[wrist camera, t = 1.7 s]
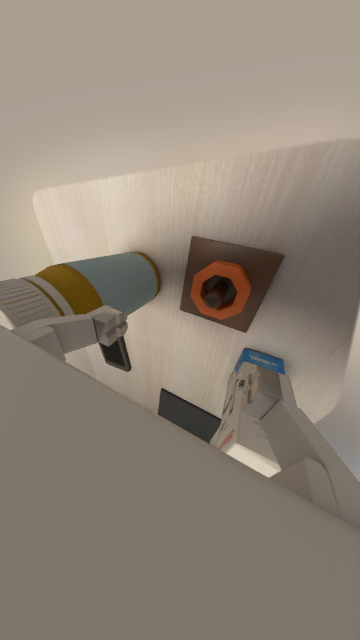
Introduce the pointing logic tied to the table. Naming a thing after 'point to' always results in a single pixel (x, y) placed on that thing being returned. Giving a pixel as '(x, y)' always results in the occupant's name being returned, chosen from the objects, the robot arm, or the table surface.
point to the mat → (188, 416)
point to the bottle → (79, 289)
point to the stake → (222, 289)
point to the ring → (228, 271)
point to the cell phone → (116, 354)
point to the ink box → (247, 419)
